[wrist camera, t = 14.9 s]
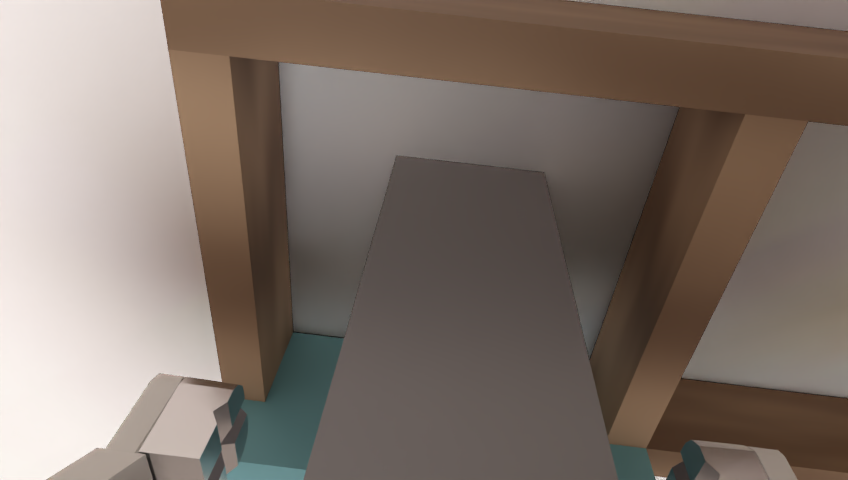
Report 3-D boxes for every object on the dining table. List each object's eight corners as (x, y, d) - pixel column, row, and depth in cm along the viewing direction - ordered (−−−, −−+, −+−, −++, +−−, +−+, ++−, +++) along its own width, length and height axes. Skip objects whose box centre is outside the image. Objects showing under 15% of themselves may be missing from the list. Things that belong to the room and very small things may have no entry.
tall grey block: (396, 155, 15) (296, 505, 6) (544, 172, 15) (635, 548, 6) (388, 273, 17) (305, 649, 9) (517, 289, 17) (558, 682, 9)
